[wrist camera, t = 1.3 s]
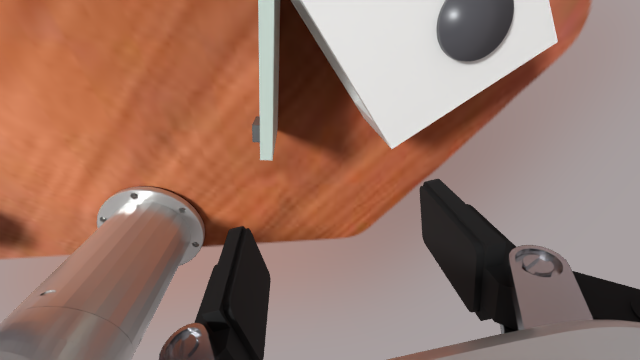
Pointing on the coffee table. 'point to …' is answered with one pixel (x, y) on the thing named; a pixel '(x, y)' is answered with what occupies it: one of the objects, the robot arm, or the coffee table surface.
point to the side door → (268, 77)
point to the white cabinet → (423, 52)
